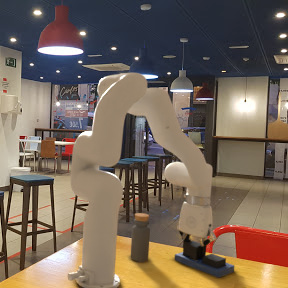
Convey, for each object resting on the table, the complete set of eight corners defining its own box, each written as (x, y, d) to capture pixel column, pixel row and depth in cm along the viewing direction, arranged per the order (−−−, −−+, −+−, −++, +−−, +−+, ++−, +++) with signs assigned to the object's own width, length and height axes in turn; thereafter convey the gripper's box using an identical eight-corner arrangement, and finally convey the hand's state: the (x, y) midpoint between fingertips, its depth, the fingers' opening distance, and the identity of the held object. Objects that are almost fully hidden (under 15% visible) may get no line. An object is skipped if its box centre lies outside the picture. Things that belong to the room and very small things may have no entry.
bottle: (147, 256, 129) (149, 213, 128) (149, 262, 123) (151, 217, 122) (129, 254, 130) (132, 212, 128) (131, 261, 124) (133, 216, 123)
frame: (218, 277, 114) (219, 271, 114) (174, 260, 127) (174, 254, 126) (234, 271, 119) (234, 265, 119) (190, 255, 132) (190, 249, 132)
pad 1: (195, 259, 122) (196, 247, 122) (182, 254, 126) (183, 242, 126) (204, 256, 125) (205, 244, 125) (191, 251, 129) (192, 240, 129)
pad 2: (216, 274, 116) (217, 261, 116) (201, 268, 120) (202, 256, 120) (225, 270, 119) (226, 258, 119) (210, 265, 123) (211, 253, 123)
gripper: (169, 196, 129) (165, 248, 130) (215, 207, 115) (210, 265, 116) (183, 194, 133) (179, 244, 134) (228, 204, 119) (223, 260, 121)
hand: (193, 253), depth 125 cm, fingers closed on pad 1, 4 cm apart
